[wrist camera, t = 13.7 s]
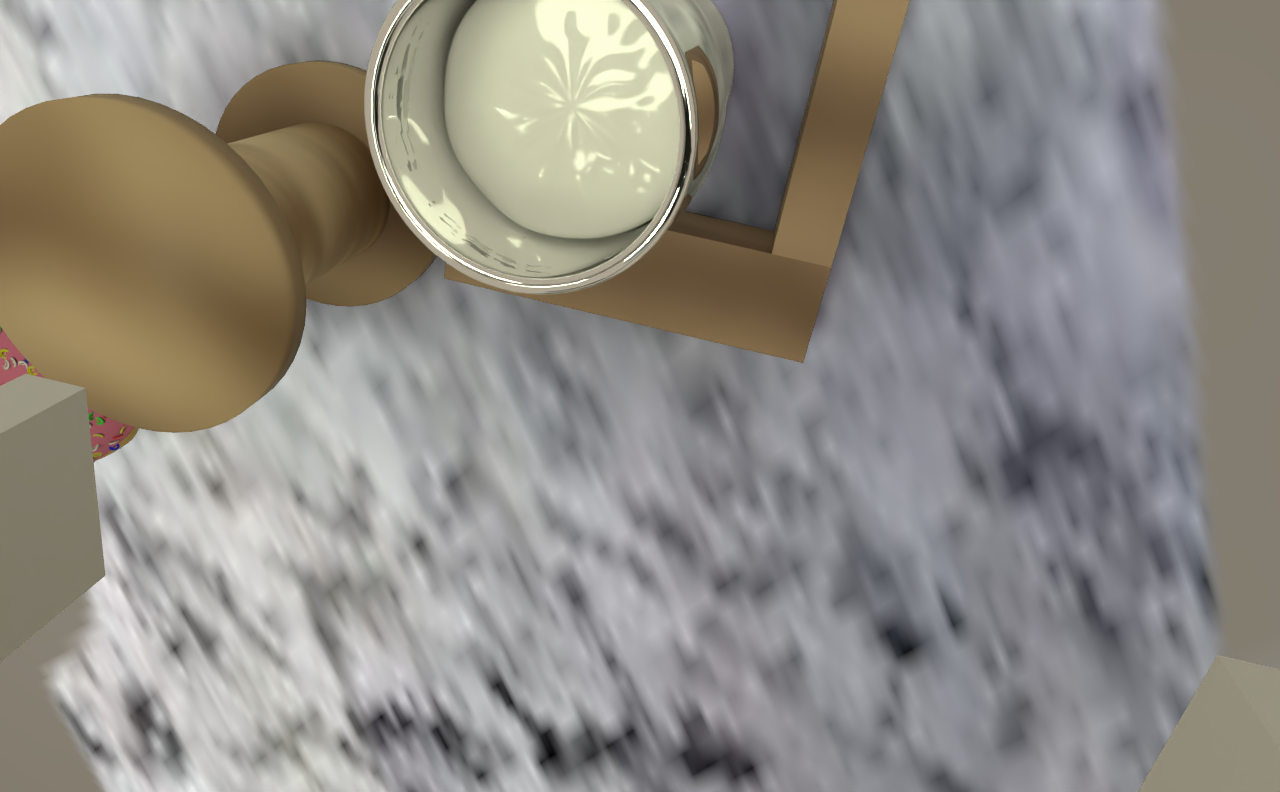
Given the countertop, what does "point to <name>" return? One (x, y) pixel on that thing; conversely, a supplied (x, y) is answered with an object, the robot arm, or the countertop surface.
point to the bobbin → (191, 241)
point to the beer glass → (545, 130)
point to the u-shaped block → (805, 228)
